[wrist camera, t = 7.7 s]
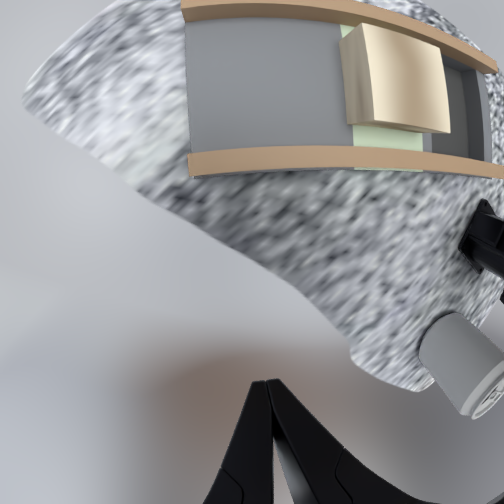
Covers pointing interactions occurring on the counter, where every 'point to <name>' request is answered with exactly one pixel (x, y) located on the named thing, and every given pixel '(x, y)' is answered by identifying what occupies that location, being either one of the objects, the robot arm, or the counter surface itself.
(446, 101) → the maple block
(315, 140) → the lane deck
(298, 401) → the robot arm
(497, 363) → the can
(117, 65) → the counter surface
